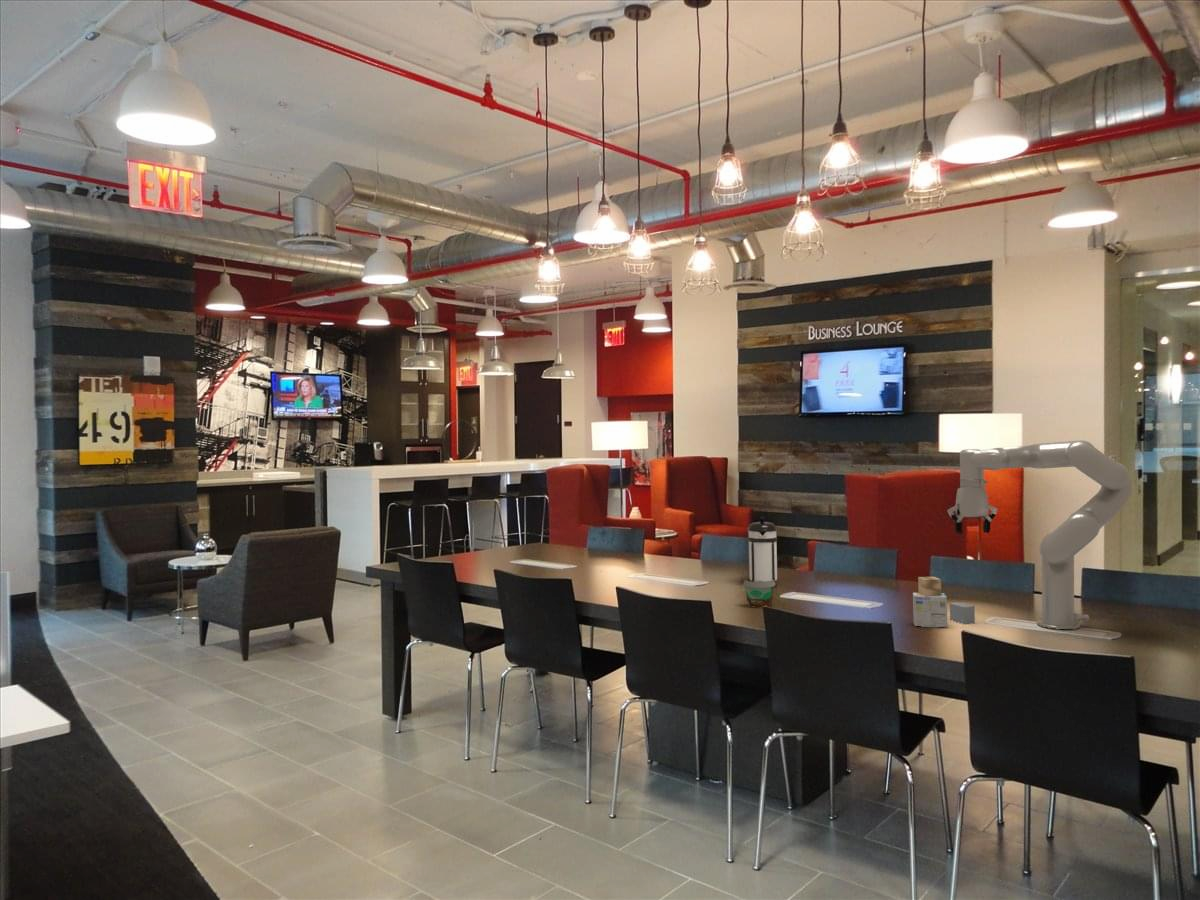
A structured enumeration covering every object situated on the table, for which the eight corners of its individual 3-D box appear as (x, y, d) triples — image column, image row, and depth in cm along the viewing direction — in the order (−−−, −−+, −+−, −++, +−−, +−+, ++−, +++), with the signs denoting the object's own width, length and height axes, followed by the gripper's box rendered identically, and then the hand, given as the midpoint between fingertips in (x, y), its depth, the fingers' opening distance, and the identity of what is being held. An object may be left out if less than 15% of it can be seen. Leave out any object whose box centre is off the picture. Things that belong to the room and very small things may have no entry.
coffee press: (789, 584, 366) (788, 516, 366) (761, 588, 358) (760, 519, 358) (763, 579, 381) (761, 513, 381) (735, 583, 373) (734, 516, 373)
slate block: (960, 619, 295) (960, 602, 295) (974, 623, 288) (974, 606, 288) (950, 620, 293) (949, 603, 293) (963, 624, 287) (963, 607, 287)
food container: (742, 607, 321) (742, 582, 321) (743, 604, 327) (743, 579, 327) (775, 608, 318) (774, 582, 318) (776, 605, 324) (775, 579, 324)
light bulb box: (945, 623, 288) (945, 592, 288) (948, 628, 282) (947, 596, 282) (912, 622, 291) (912, 591, 291) (914, 627, 285) (913, 595, 284)
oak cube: (934, 592, 289) (933, 576, 289) (941, 595, 284) (940, 579, 283) (918, 592, 289) (918, 577, 289) (925, 596, 283) (924, 579, 283)
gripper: (991, 483, 298) (992, 531, 298) (942, 484, 297) (943, 532, 298) (1001, 484, 290) (1002, 533, 290) (952, 485, 290) (953, 535, 290)
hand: (972, 532), depth 294 cm, fingers open, 9 cm apart
